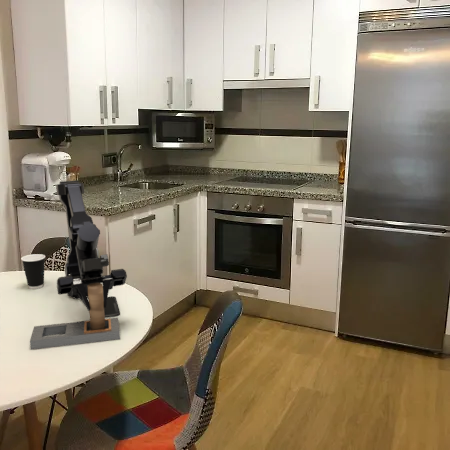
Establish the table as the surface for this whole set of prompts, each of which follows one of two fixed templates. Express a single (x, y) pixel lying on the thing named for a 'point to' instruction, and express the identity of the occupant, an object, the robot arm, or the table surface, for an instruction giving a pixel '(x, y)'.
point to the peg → (96, 306)
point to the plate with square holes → (73, 334)
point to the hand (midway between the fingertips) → (97, 308)
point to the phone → (111, 307)
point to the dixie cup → (34, 270)
